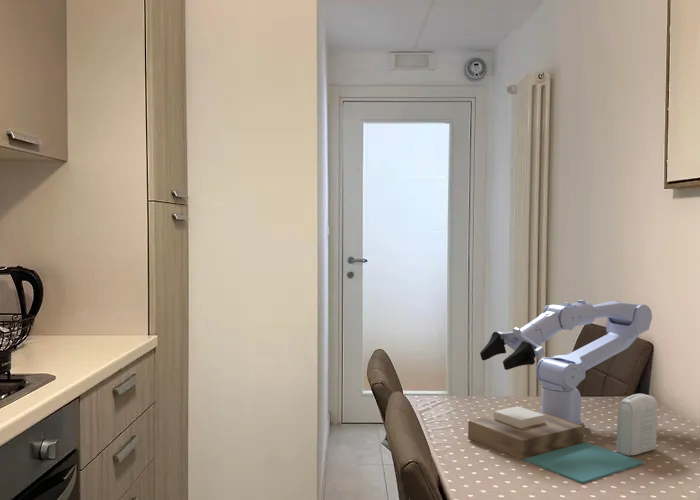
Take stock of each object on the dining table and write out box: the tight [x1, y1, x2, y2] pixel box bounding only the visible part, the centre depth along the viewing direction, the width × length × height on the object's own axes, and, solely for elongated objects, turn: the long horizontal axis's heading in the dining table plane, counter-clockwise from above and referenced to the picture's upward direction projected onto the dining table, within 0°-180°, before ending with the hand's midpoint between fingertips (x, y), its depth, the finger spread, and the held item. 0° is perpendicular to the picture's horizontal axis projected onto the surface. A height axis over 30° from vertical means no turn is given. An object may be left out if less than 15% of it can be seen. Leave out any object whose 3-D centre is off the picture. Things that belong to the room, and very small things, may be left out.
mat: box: [524, 442, 645, 484], centre depth 131 cm, size 20×14×1 cm
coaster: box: [493, 406, 545, 428], centre depth 145 cm, size 8×8×2 cm
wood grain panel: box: [467, 407, 585, 460], centre depth 144 cm, size 20×16×4 cm
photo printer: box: [616, 393, 659, 457], centre depth 138 cm, size 10×4×12 cm, turn 123°
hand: (492, 361), depth 147 cm, fingers open, 7 cm apart
